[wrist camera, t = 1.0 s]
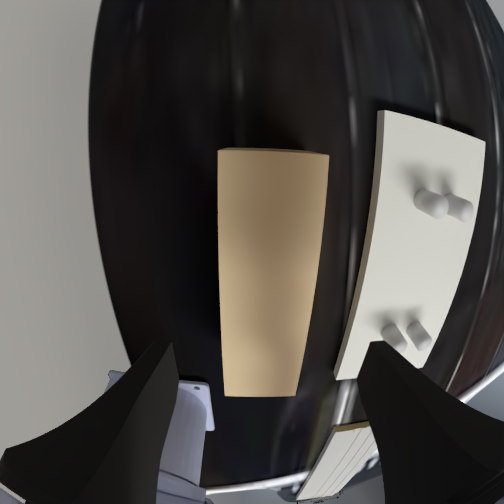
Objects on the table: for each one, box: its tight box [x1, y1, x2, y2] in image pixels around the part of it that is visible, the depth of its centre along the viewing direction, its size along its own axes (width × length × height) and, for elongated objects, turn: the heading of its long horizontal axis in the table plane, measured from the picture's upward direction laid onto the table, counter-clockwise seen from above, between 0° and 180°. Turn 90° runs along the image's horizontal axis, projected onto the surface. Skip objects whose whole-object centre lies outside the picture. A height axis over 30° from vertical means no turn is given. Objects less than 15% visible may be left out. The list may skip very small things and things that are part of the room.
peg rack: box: [333, 110, 485, 380], centre depth 16 cm, size 9×20×3 cm, turn 179°
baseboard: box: [296, 421, 377, 504], centre depth 30 cm, size 30×3×10 cm
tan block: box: [218, 148, 329, 397], centre depth 15 cm, size 4×14×5 cm, turn 179°
